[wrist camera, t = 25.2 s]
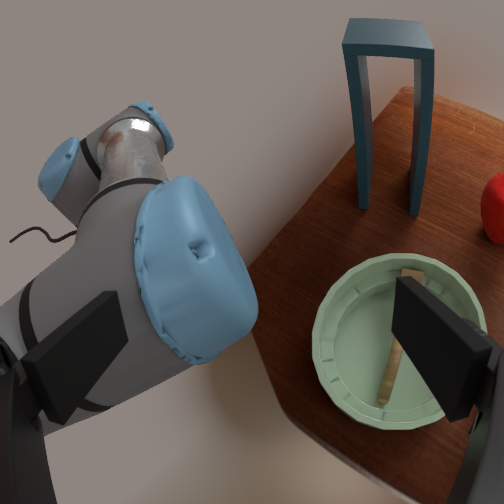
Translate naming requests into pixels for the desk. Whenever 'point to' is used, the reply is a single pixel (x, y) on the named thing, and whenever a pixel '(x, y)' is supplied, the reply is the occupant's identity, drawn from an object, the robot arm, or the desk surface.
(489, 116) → the desk surface
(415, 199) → the teal arch block
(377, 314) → the bowl
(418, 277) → the wooden mallet
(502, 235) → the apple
